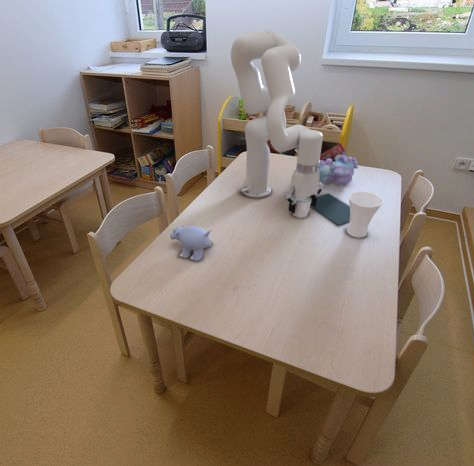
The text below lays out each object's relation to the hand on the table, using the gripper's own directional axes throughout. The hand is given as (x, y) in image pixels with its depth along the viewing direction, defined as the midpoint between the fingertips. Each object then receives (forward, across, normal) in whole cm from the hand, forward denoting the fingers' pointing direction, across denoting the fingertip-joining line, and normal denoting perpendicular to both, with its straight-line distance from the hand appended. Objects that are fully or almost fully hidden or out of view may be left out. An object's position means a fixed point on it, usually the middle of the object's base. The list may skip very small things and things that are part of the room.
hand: (302, 208), depth 126 cm
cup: (+3, -10, +19) cm, 21 cm away
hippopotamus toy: (+3, +46, 0) cm, 46 cm away
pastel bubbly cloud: (+2, -30, -19) cm, 35 cm away
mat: (+3, -13, +2) cm, 14 cm away
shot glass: (+3, 0, -1) cm, 3 cm away
